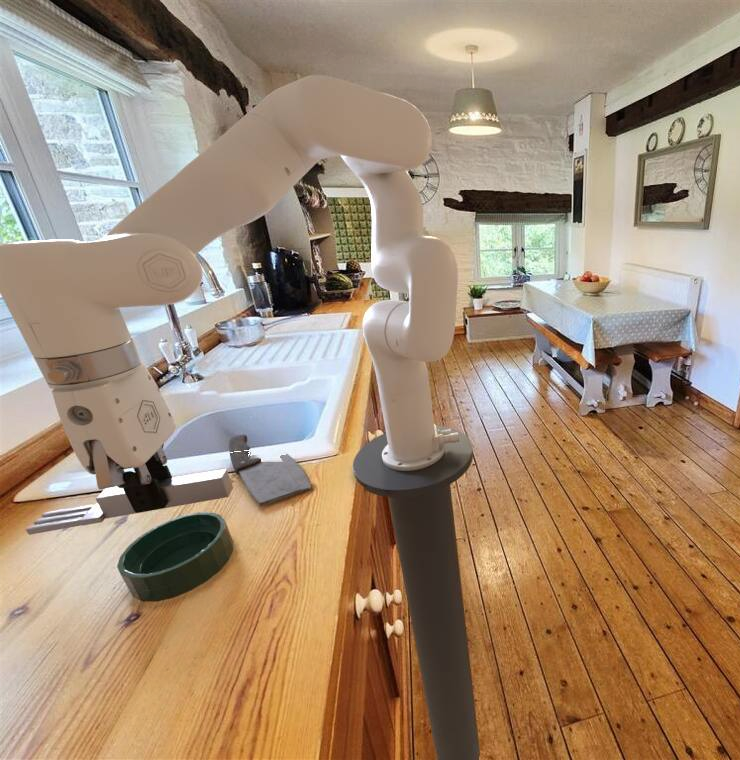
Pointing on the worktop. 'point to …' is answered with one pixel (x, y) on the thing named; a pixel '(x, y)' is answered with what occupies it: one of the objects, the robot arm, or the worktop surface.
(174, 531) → the bowl
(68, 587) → the worktop surface
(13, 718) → the worktop surface
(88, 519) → the fork
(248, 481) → the cleaver
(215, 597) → the worktop surface
